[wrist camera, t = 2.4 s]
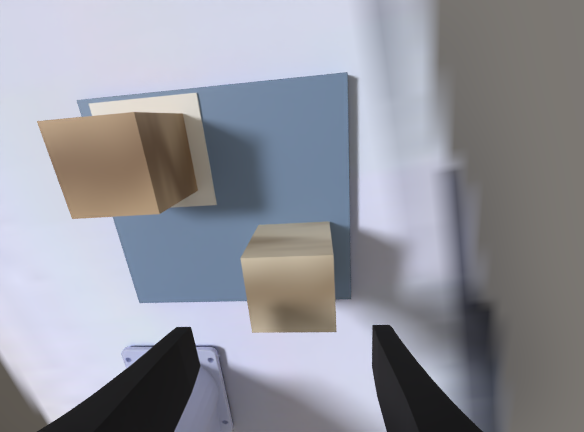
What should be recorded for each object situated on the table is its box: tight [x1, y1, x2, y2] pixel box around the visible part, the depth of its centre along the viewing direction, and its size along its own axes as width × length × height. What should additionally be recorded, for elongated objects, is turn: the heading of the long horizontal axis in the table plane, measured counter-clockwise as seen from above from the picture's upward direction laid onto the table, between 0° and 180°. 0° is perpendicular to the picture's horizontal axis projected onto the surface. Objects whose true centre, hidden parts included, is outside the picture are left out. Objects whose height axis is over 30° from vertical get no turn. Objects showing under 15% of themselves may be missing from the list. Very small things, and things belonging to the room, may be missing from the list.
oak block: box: [37, 112, 198, 219], centre depth 15 cm, size 4×4×4 cm
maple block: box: [240, 222, 336, 333], centre depth 16 cm, size 4×4×4 cm
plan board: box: [77, 72, 351, 303], centre depth 18 cm, size 14×16×1 cm
